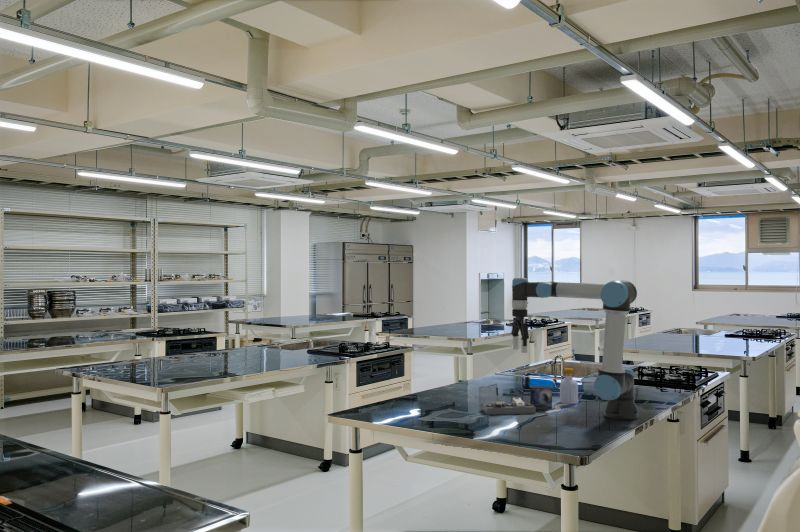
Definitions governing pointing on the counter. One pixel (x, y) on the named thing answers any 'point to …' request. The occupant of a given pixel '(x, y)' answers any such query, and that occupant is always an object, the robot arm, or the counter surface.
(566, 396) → the soap bottle
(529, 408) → the power strip
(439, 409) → the counter surface
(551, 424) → the counter surface
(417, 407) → the counter surface
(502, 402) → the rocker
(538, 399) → the small box
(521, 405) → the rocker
